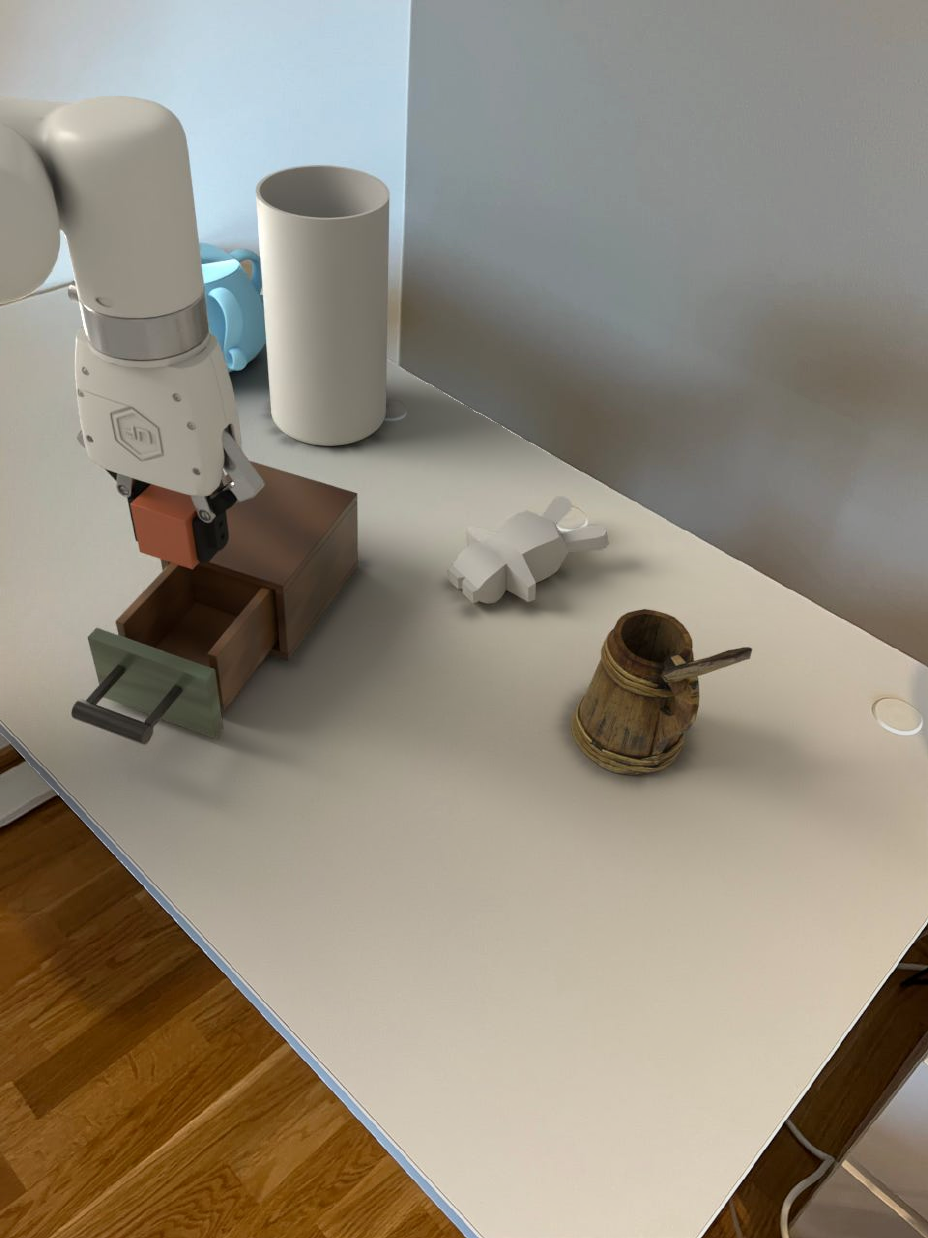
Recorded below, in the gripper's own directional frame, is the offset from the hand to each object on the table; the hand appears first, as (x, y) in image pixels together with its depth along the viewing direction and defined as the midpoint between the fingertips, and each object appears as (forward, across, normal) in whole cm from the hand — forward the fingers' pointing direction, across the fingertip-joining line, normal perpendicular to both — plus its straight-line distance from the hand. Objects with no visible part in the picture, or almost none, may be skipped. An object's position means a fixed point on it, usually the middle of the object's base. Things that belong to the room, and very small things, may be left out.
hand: (182, 539), depth 79 cm
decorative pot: (+15, -27, +43) cm, 53 cm away
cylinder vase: (+15, -8, +39) cm, 43 cm away
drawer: (+14, 0, -3) cm, 14 cm away
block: (0, 0, 0) cm, 0 cm away
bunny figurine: (+15, +20, +24) cm, 35 cm away
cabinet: (+15, 0, +11) cm, 18 cm away
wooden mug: (+15, +36, +7) cm, 39 cm away
